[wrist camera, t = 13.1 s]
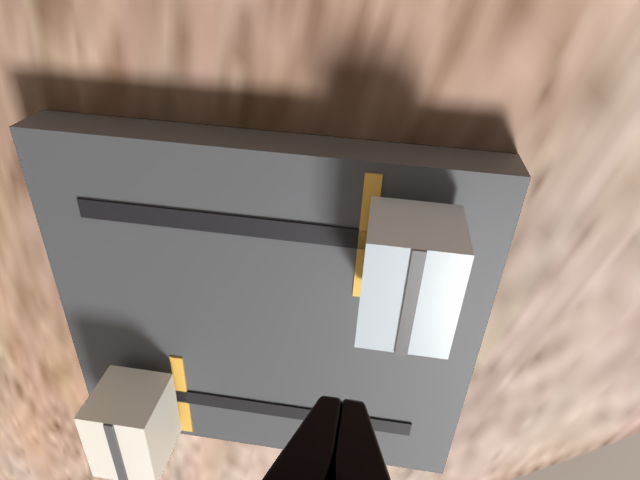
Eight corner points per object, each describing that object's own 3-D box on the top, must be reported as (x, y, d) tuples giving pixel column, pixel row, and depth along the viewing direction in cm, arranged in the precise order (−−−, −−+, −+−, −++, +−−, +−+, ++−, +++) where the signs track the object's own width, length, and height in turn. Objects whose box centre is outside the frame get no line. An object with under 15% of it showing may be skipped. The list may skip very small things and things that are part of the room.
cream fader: (172, 373, 22) (142, 431, 20) (181, 430, 25) (155, 488, 22) (110, 365, 23) (72, 420, 20) (124, 421, 25) (92, 478, 22)
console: (518, 153, 18) (531, 178, 16) (439, 438, 26) (442, 475, 24) (43, 109, 19) (7, 127, 17) (115, 390, 28) (95, 421, 26)
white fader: (463, 205, 16) (475, 257, 14) (441, 301, 18) (448, 361, 16) (371, 196, 16) (365, 245, 14) (360, 291, 19) (354, 349, 16)
